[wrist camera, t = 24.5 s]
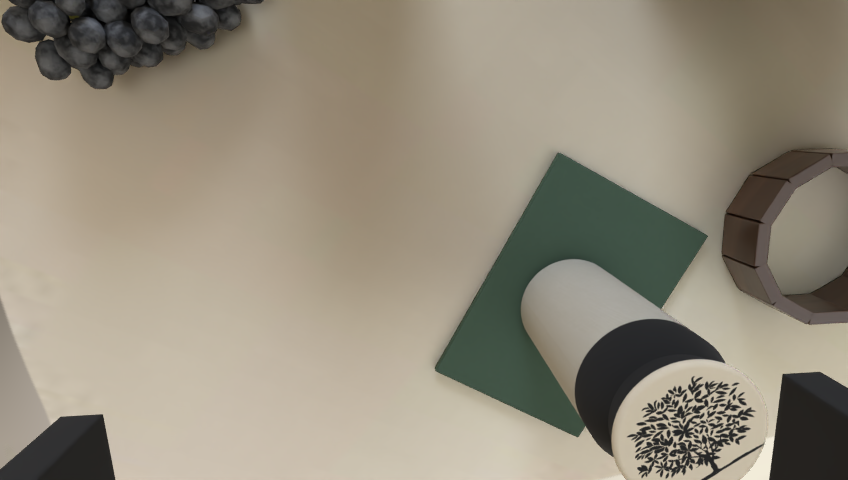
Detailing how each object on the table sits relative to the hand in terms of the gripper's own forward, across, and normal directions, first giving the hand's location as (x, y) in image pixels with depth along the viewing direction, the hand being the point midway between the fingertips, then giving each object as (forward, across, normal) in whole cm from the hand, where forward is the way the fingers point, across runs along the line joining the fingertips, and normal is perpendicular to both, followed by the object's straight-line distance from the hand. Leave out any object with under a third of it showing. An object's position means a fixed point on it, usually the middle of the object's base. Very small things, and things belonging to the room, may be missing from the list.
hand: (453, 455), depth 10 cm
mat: (+31, +12, -8) cm, 34 cm away
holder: (+31, +32, -3) cm, 44 cm away
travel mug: (+30, +12, -8) cm, 34 cm away
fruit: (+31, -16, +14) cm, 38 cm away
